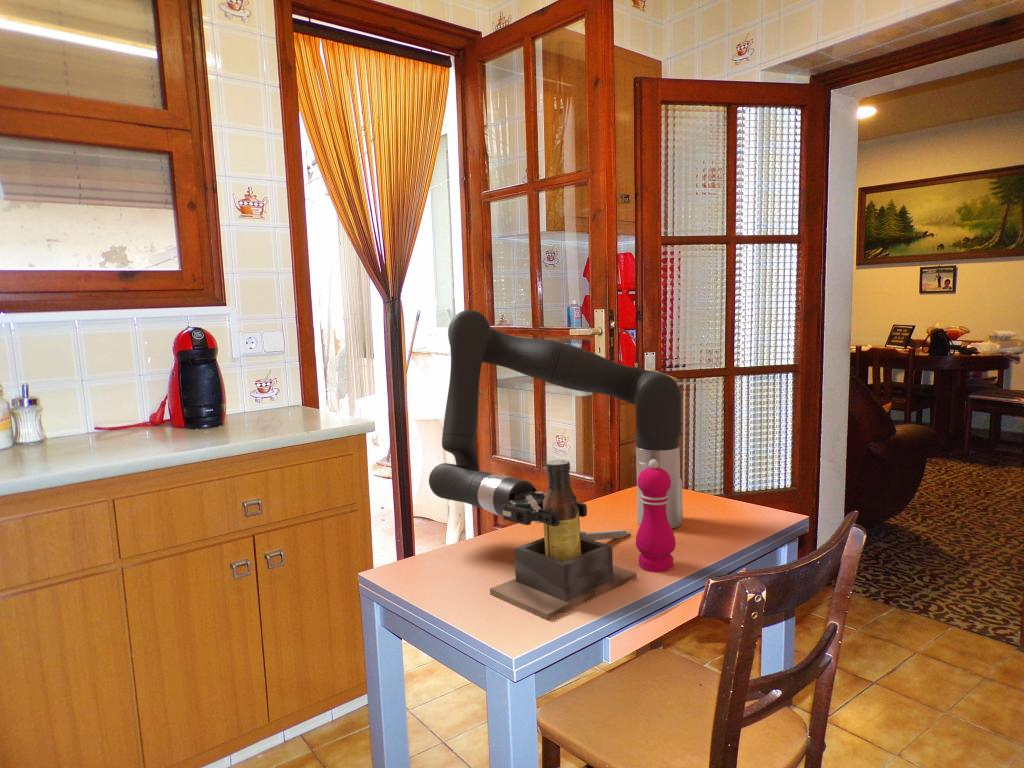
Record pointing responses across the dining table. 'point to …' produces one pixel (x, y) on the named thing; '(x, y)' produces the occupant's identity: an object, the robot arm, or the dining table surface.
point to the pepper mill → (655, 520)
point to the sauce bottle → (561, 513)
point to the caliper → (604, 534)
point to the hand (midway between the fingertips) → (571, 515)
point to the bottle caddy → (560, 578)
